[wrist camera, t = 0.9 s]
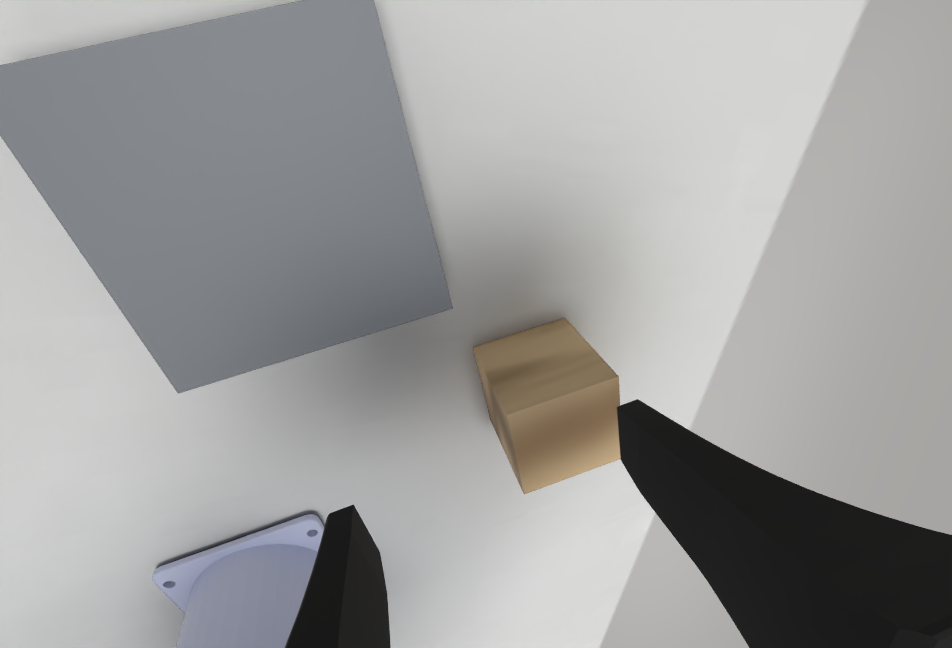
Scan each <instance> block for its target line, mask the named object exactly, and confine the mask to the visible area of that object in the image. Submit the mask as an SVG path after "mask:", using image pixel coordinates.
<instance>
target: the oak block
mask: <svg viewBox="0 0 952 648" xmlns="http://www.w3.org/2000/svg"><path fill="white" fill-rule="evenodd" d="M473 350H474V354H475V358H476V363H477V367H478V371H479V375H480V379H481V383H482V387H483V391H484V395H485V399H486V403H487V408H488V412H489V416H490V420H491V422H492V424H493V427H494V429H495V431H496V433H497V435H498V438H499V440H500V442H501V444H502V447H503V449H504V451H505V453H506V455H507V458H508V460H509V462H510V464H511V467H512V469H513V471H514V473H515V475H516V478H517V480H518V482H519V484H520V487H521V489H522V491H523V493H524V494H527V493H529V492H532V491H535V490H537V489H540V488H543V487H545V486H548V485H551V484H554V483H556V482H559V481H562V480H564V479H567V478H570V477H572V476H575V475H578V474H581V473H583V472H586V471H589V470H591V469H594V468H597V467H600V466H602V465H605V464H608V463H610V462H613V461H616V460H618V459H621V457H620V444H619V431H618V418H617V407H618V406H620V395H619V376H618V375H617V374H616V373H615V372H614V371H613V370H612V369H611V368H610V366H609V365H608V364H607V363H606V362H605V361H604V360H603V359H602V358H601V357H600V356H599V354H598V353H597V352H596V351H595V350H594V349H593V348H592V347H591V346H590V345H589V344H588V342H587V341H586V340H585V339H584V338H583V337H582V336H581V335H580V334H579V333H578V332H577V330H576V329H575V328H574V327H573V326H572V325H571V324H570V323H569V322H568V321H567V320H566V318H563V319H559V320H556V321H553V322H550V323H547V324H544V325H541V326H538V327H535V328H532V329H528V330H525V331H522V332H519V333H516V334H513V335H510V336H507V337H504V338H501V339H498V340H494V341H491V342H488V343H485V344H482V345H479V346H476V347H473Z"/></svg>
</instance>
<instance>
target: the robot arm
mask: <svg viewBox="0 0 952 648" xmlns="http://www.w3.org/2000/svg"><path fill="white" fill-rule="evenodd" d="M617 418H618V431H619V444H620V457H621V461H622V462H623V464H624V466H625V468H626V469H627V471H628V473H629V474H630V476H631V478H632V479H633V481H634V483H635V484H636V486H637V488H638V489H639V491H640V492H641V494H642V495H643V497H644V498H645V499H646V501H647V502H648V503H649V505H650V506H651V507H652V509H653V510H654V511H655V512H656V514H657V515H658V516H659V518H660V519H661V520H662V522H663V523H664V524H665V525H666V527H667V528H668V529H669V531H670V532H671V533H672V535H673V536H674V537H675V538H676V540H677V541H678V542H679V544H680V545H681V546H682V547H683V549H684V550H685V551H686V553H687V554H688V555H689V557H690V558H691V559H692V560H693V562H694V563H695V564H696V566H697V567H698V568H699V570H700V571H701V573H702V574H703V575H704V577H705V578H706V579H707V581H708V582H709V584H710V586H711V587H712V589H713V590H714V592H715V593H716V595H717V596H718V598H719V600H720V601H721V603H722V604H723V606H724V607H725V609H726V610H727V612H728V613H729V615H730V617H731V618H732V620H733V622H734V623H735V625H736V626H737V628H738V630H739V631H740V633H741V635H742V636H743V638H744V639H745V641H746V643H747V644H748V646H749V648H952V535H949V534H945V533H941V532H937V531H933V530H929V529H926V528H922V527H918V526H915V525H912V524H908V523H905V522H902V521H899V520H895V519H892V518H889V517H885V516H882V515H879V514H876V513H873V512H870V511H867V510H864V509H861V508H858V507H855V506H853V505H850V504H847V503H844V502H841V501H838V500H836V499H833V498H830V497H827V496H824V495H822V494H819V493H816V492H814V491H812V490H809V489H807V488H804V487H802V486H799V485H797V484H795V483H792V482H790V481H788V480H785V479H783V478H781V477H778V476H776V475H774V474H772V473H769V472H767V471H765V470H763V469H761V468H759V467H757V466H755V465H753V464H751V463H748V462H747V461H745V460H743V459H741V458H739V457H736V456H735V455H733V454H731V453H729V452H727V451H725V450H723V449H721V448H720V447H718V446H716V445H714V444H712V443H711V442H709V441H707V440H705V439H703V438H701V437H700V436H698V435H696V434H695V433H693V432H691V431H689V430H688V429H686V428H684V427H683V426H681V425H679V424H678V423H676V422H674V421H673V420H671V419H669V418H668V417H666V416H664V415H663V414H661V413H659V412H658V411H656V410H655V409H653V408H651V407H650V406H648V405H646V404H645V403H643V402H641V401H640V400H638V399H637V400H634V401H632V402H629V403H626V404H624V405H621V406H618V407H617ZM313 529H314V530H313ZM152 581H153V582H154V583H155V584H156V585H157V586H158V587H159V588H160V589H161V590H162V591H163V592H164V593H165V594H166V595H167V596H168V597H169V598H170V599H171V600H172V601H173V602H174V603H175V604H176V605H177V606H178V607H179V608H180V609H181V610H182V611H183V612H184V613H185V615H184V619H183V622H182V626H181V630H180V634H179V638H178V642H177V645H176V648H390V631H389V616H388V601H387V591H386V585H385V578H384V573H383V567H382V561H381V556H380V552H379V550H378V548H377V546H376V544H375V543H374V541H373V539H372V537H371V535H370V534H369V532H368V530H367V528H366V526H365V524H364V523H363V521H362V519H361V517H360V515H359V514H358V512H357V510H356V508H355V506H354V505H351V506H349V507H346V508H343V509H340V510H338V511H335V512H332V513H330V514H329V515H328V517H327V520H326V524H325V527H324V526H323V524H322V523H321V521H320V519H319V518H318V517H317V516H316V515H313V514H308V515H304V516H301V517H299V518H296V519H293V520H290V521H287V522H285V523H282V524H279V525H276V526H273V527H270V528H268V529H265V530H262V531H259V532H256V533H253V534H251V535H248V536H245V537H242V538H239V539H236V540H234V541H231V542H228V543H225V544H222V545H219V546H217V547H214V548H211V549H208V550H205V551H203V552H200V553H197V554H194V555H191V556H188V557H186V558H183V559H180V560H177V561H174V562H171V563H169V564H166V565H163V566H160V567H158V568H156V570H155V571H154V573H153V576H152Z"/></svg>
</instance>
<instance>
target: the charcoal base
mask: <svg viewBox="0 0 952 648" xmlns="http://www.w3.org/2000/svg"><path fill="white" fill-rule="evenodd" d="M0 136H1V137H2V139H3V140H4V142H5V143H6V145H7V146H8V148H9V149H10V150H11V152H12V153H13V155H14V156H15V158H16V159H17V161H18V162H19V163H20V165H21V166H22V168H23V169H24V171H25V172H26V174H27V175H28V177H29V178H30V179H31V181H32V182H33V184H34V185H35V187H36V188H37V190H38V191H39V192H40V194H41V195H42V197H43V198H44V200H45V201H46V203H47V204H48V206H49V207H50V208H51V210H52V211H53V213H54V214H55V216H56V217H57V219H58V220H59V222H60V223H61V224H62V226H63V227H64V229H65V230H66V232H67V233H68V235H69V236H70V237H71V239H72V240H73V242H74V243H75V245H76V246H77V248H78V249H79V251H80V252H81V253H82V255H83V256H84V258H85V259H86V261H87V262H88V264H89V265H90V267H91V268H92V269H93V271H94V272H95V274H96V275H97V277H98V278H99V280H100V281H101V282H102V284H103V285H104V287H105V288H106V290H107V291H108V293H109V294H110V296H111V297H112V298H113V300H114V301H115V303H116V304H117V306H118V307H119V309H120V310H121V311H122V313H123V314H124V316H125V317H126V319H127V320H128V322H129V323H130V325H131V326H132V327H133V329H134V330H135V332H136V333H137V335H138V336H139V338H140V339H141V341H142V342H143V343H144V345H145V346H146V348H147V349H148V351H149V352H150V354H151V355H152V356H153V358H154V359H155V361H156V362H157V364H158V365H159V367H160V368H161V370H162V371H163V372H164V374H165V375H166V377H167V378H168V380H169V381H170V383H171V384H172V385H173V387H174V388H175V390H176V391H177V393H181V392H185V391H188V390H191V389H194V388H198V387H201V386H204V385H207V384H211V383H214V382H217V381H220V380H223V379H227V378H230V377H233V376H236V375H240V374H243V373H246V372H249V371H252V370H256V369H259V368H262V367H265V366H269V365H272V364H275V363H278V362H281V361H285V360H288V359H291V358H294V357H298V356H301V355H304V354H307V353H311V352H314V351H317V350H320V349H323V348H327V347H330V346H333V345H336V344H340V343H343V342H346V341H349V340H352V339H356V338H359V337H362V336H365V335H369V334H372V333H375V332H378V331H382V330H385V329H388V328H391V327H394V326H398V325H401V324H404V323H407V322H411V321H414V320H417V319H420V318H423V317H427V316H430V315H433V314H436V313H440V312H443V311H446V310H449V309H453V306H452V302H451V299H450V295H449V291H448V287H447V283H446V279H445V275H444V271H443V268H442V264H441V260H440V256H439V252H438V248H437V244H436V240H435V236H434V233H433V229H432V225H431V221H430V217H429V213H428V209H427V205H426V202H425V198H424V194H423V190H422V186H421V182H420V178H419V174H418V171H417V167H416V163H415V159H414V155H413V151H412V147H411V143H410V139H409V136H408V132H407V128H406V124H405V120H404V116H403V112H402V108H401V105H400V101H399V97H398V93H397V89H396V85H395V81H394V77H393V74H392V70H391V66H390V62H389V58H388V54H387V50H386V46H385V42H384V39H383V35H382V31H381V27H380V23H379V19H378V15H377V11H376V8H375V4H374V0H302V1H297V2H292V3H288V4H283V5H278V6H274V7H269V8H265V9H260V10H255V11H251V12H246V13H241V14H237V15H232V16H227V17H223V18H218V19H213V20H209V21H204V22H199V23H195V24H190V25H185V26H181V27H176V28H172V29H167V30H162V31H158V32H153V33H148V34H144V35H139V36H134V37H130V38H125V39H120V40H116V41H111V42H106V43H102V44H97V45H92V46H88V47H83V48H79V49H74V50H69V51H65V52H60V53H55V54H51V55H46V56H41V57H37V58H32V59H27V60H23V61H18V62H13V63H9V64H4V65H0Z"/></svg>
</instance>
